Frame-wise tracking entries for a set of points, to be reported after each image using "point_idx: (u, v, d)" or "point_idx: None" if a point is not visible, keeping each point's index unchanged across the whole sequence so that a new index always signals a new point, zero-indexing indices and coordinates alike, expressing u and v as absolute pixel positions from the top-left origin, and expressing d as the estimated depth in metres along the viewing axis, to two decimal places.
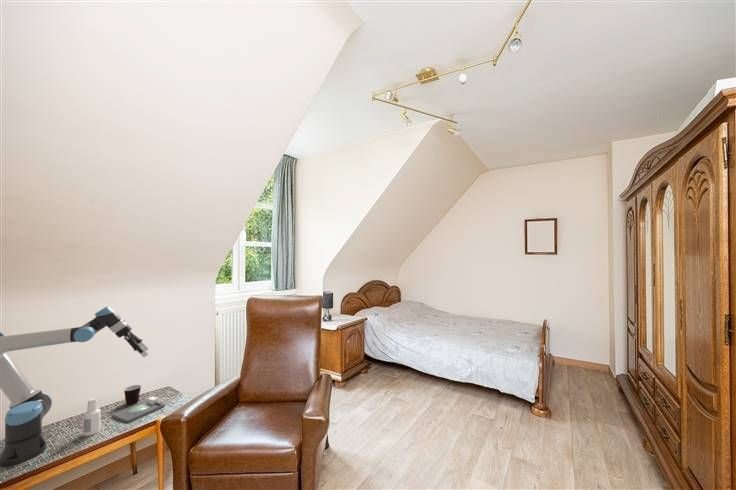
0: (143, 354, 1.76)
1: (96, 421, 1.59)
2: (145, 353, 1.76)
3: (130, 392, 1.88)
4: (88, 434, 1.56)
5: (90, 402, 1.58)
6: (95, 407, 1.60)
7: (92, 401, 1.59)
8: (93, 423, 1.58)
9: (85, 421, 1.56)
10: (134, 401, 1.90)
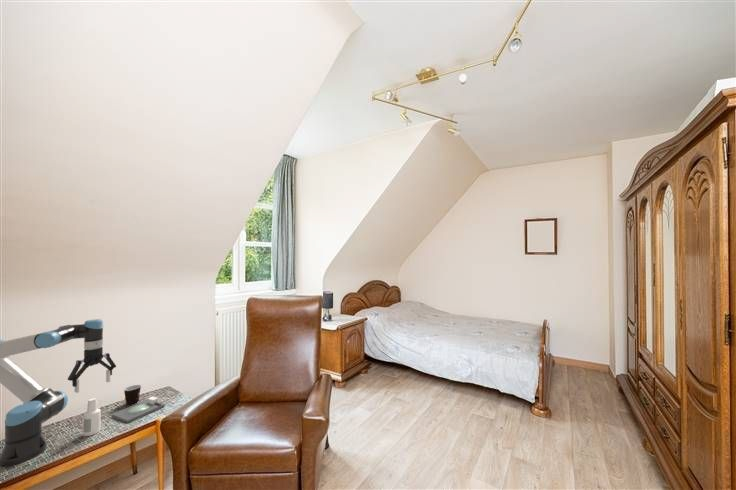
0: (75, 388, 1.54)
1: (96, 421, 1.59)
2: (76, 389, 1.54)
3: (130, 392, 1.88)
4: (88, 434, 1.56)
5: (90, 402, 1.58)
6: (95, 407, 1.60)
7: (92, 401, 1.59)
8: (93, 423, 1.58)
9: (85, 421, 1.56)
10: (134, 401, 1.90)
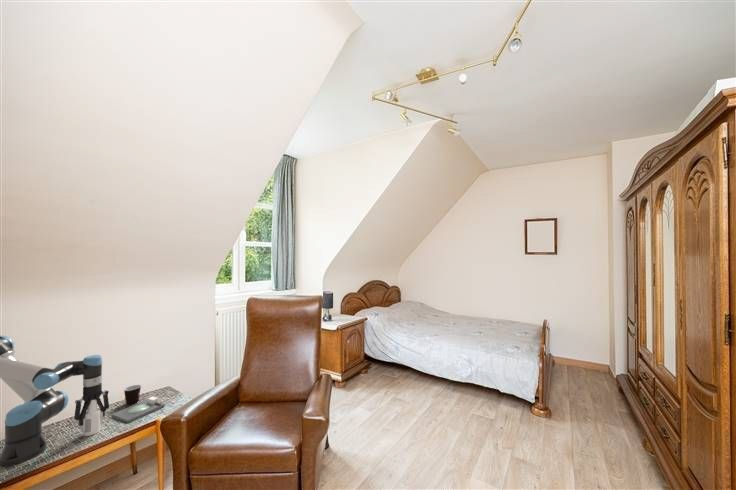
0: (81, 427, 1.56)
1: (96, 421, 1.59)
2: (82, 428, 1.55)
3: (129, 392, 1.88)
4: (88, 434, 1.56)
5: (90, 402, 1.58)
6: (95, 407, 1.60)
7: (92, 401, 1.59)
8: (93, 423, 1.58)
9: (85, 421, 1.56)
10: (134, 401, 1.90)
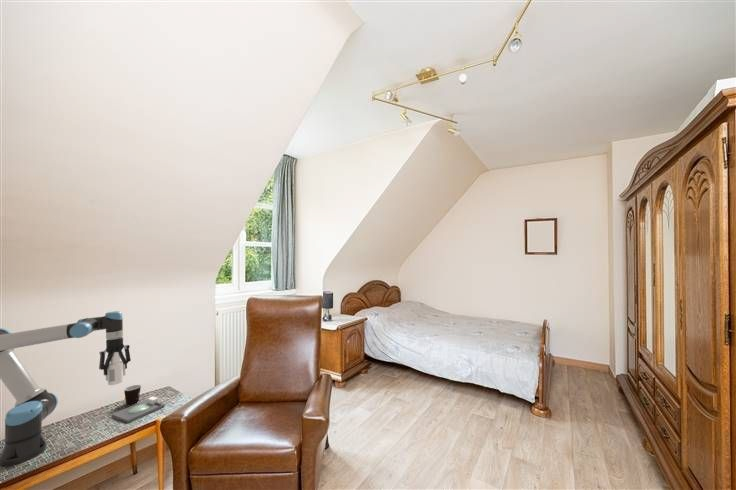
0: (106, 377, 1.66)
1: (119, 372, 1.69)
2: (107, 378, 1.66)
3: (130, 392, 1.88)
4: (112, 383, 1.66)
5: (113, 354, 1.68)
6: (118, 359, 1.70)
7: (115, 353, 1.69)
8: (117, 374, 1.68)
9: None
10: (134, 401, 1.90)
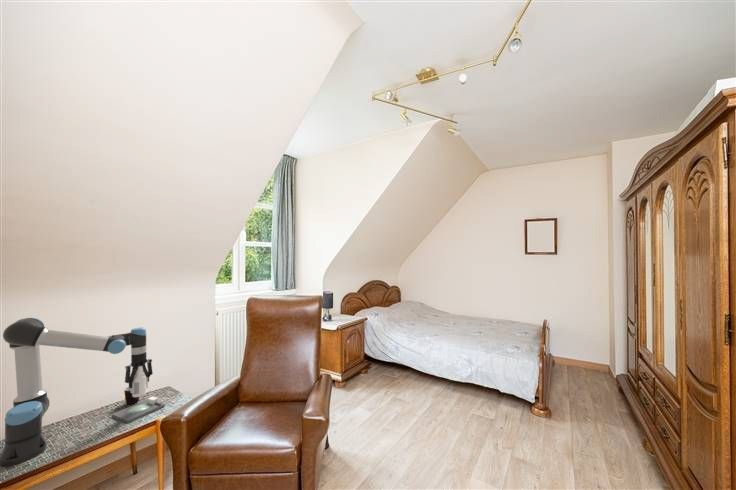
0: (131, 390, 1.78)
1: (143, 385, 1.80)
2: (132, 390, 1.77)
3: None
4: (137, 395, 1.78)
5: None
6: (142, 372, 1.81)
7: (139, 367, 1.80)
8: (141, 386, 1.79)
9: (134, 384, 1.78)
10: (134, 401, 1.90)
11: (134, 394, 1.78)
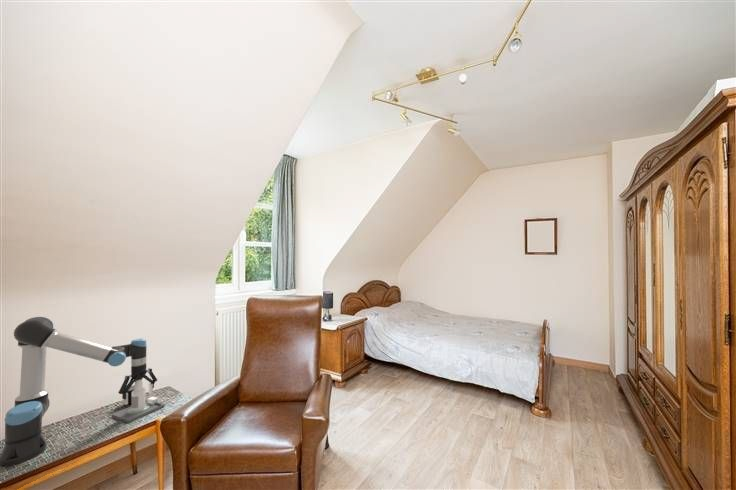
0: (124, 401, 1.75)
1: (142, 399, 1.80)
2: (125, 401, 1.74)
3: (130, 392, 1.88)
4: (136, 410, 1.77)
5: (137, 382, 1.79)
6: (141, 386, 1.81)
7: (139, 381, 1.80)
8: (140, 400, 1.79)
9: (133, 398, 1.77)
10: None
11: (133, 408, 1.77)
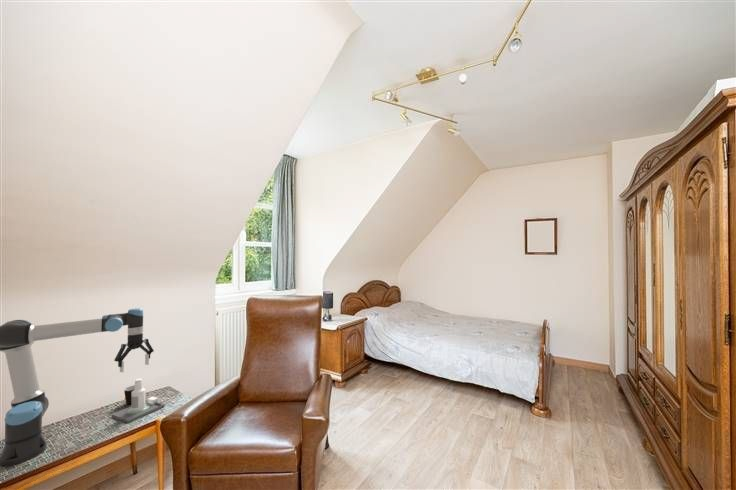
0: (120, 369, 1.75)
1: (142, 399, 1.80)
2: (121, 369, 1.74)
3: (130, 392, 1.88)
4: (136, 410, 1.77)
5: (137, 382, 1.79)
6: (141, 386, 1.81)
7: (138, 381, 1.80)
8: (140, 400, 1.79)
9: (133, 398, 1.77)
10: None
11: (133, 408, 1.77)
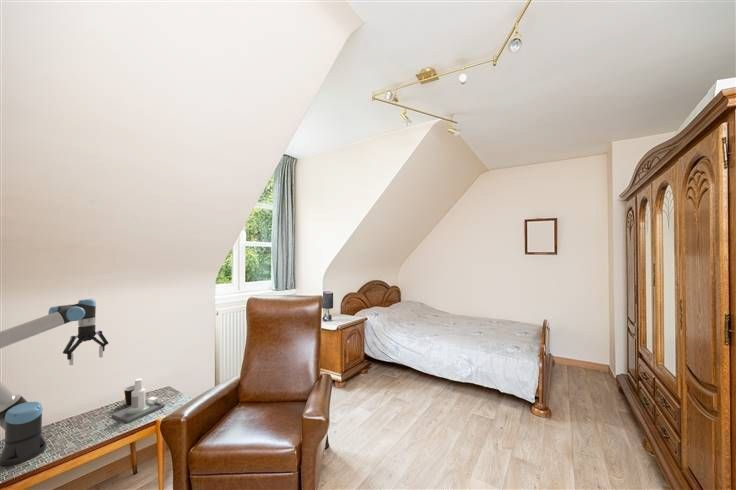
0: (70, 361, 1.67)
1: (142, 399, 1.80)
2: (70, 362, 1.67)
3: (130, 392, 1.88)
4: (136, 410, 1.77)
5: (137, 382, 1.79)
6: (141, 386, 1.81)
7: (138, 381, 1.80)
8: (140, 400, 1.79)
9: (133, 398, 1.77)
10: None
11: (133, 408, 1.77)
